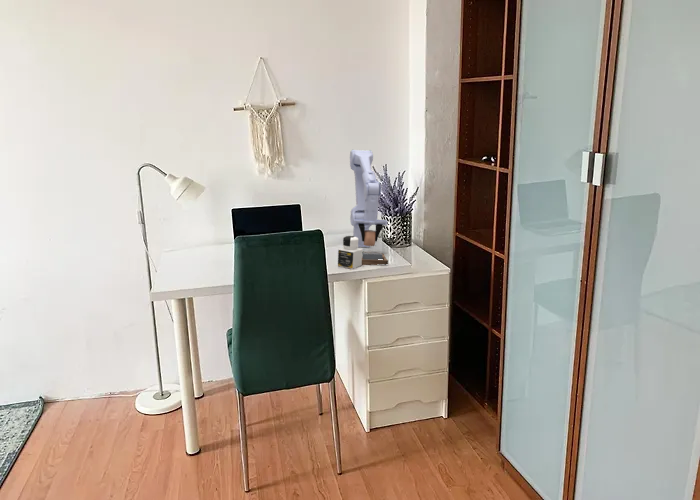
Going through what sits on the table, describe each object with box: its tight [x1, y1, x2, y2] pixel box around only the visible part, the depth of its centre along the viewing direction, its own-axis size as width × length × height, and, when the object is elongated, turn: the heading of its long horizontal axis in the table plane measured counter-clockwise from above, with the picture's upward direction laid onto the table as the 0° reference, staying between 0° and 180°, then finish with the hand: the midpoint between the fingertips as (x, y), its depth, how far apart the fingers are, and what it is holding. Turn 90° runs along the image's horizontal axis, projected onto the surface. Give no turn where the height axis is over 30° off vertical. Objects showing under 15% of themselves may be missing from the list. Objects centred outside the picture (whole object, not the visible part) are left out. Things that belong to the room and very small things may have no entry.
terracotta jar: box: [364, 229, 376, 247], centre depth 256 cm, size 5×5×6 cm
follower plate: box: [362, 252, 382, 260], centre depth 247 cm, size 1×8×2 cm, turn 95°
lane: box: [361, 252, 389, 266], centre depth 246 cm, size 14×11×2 cm
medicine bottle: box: [337, 235, 363, 270], centre depth 235 cm, size 7×7×12 cm
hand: (369, 240), depth 256 cm, fingers closed on terracotta jar, 5 cm apart
